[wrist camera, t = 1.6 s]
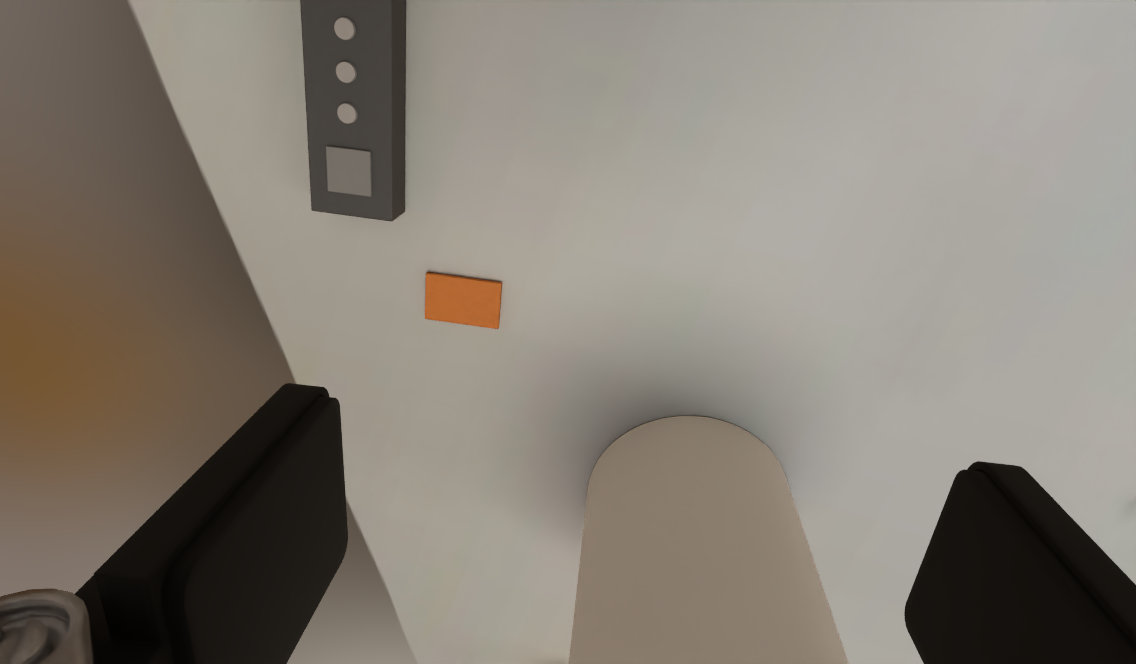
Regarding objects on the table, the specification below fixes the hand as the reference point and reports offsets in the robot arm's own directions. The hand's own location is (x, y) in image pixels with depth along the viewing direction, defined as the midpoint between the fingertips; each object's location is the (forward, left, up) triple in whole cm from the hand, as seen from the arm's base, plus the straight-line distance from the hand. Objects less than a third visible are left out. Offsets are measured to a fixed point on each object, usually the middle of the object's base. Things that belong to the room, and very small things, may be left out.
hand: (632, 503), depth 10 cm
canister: (+22, +7, -29) cm, 37 cm away
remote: (-2, -15, -29) cm, 33 cm away
